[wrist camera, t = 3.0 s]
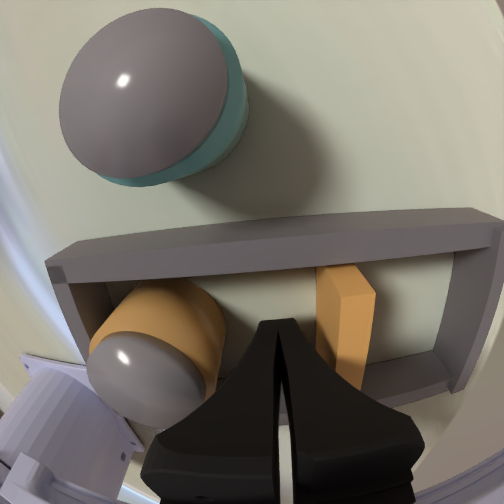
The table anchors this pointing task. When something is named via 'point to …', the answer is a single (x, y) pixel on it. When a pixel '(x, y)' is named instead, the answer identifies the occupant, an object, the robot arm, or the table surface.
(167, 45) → the teal jar
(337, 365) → the plate
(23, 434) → the robot arm
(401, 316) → the table surface
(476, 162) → the table surface
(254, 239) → the grey rectangular tray
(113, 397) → the amber jar
